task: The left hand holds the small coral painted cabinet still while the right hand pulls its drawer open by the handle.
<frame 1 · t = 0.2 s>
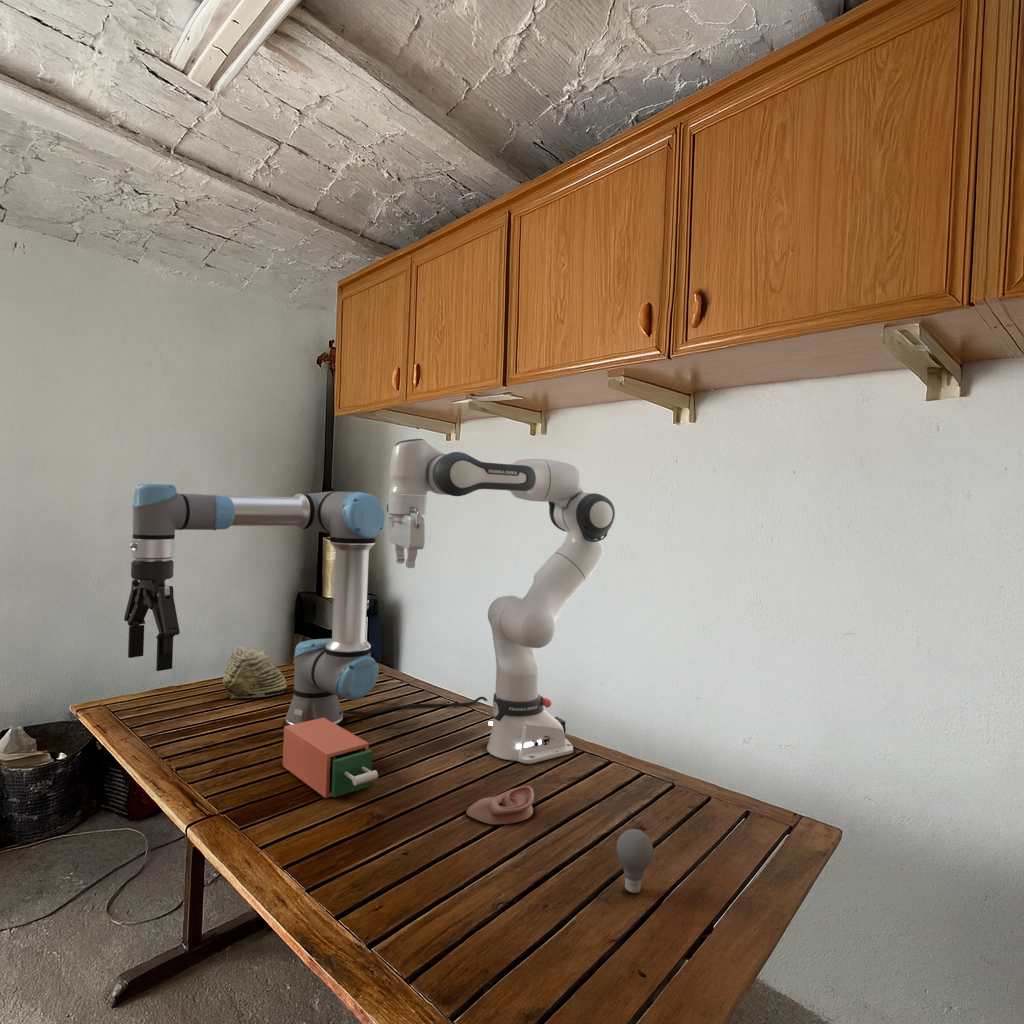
left hand: (149, 663, 129), 28 cm above the table, tool pointing down, fingers open, 13 cm apart
right hand: (405, 565, 150), 48 cm above the table, tool pointing down, fingers open, 8 cm apart
fossil: (254, 694, 198), on the table
light bulb: (632, 891, 106), on the table
drawer: (337, 763, 140), point 5 cm above the table, slide at 1.3 cm
cabinet: (323, 775, 144), on the table
anatomical model: (500, 812, 130), on the table
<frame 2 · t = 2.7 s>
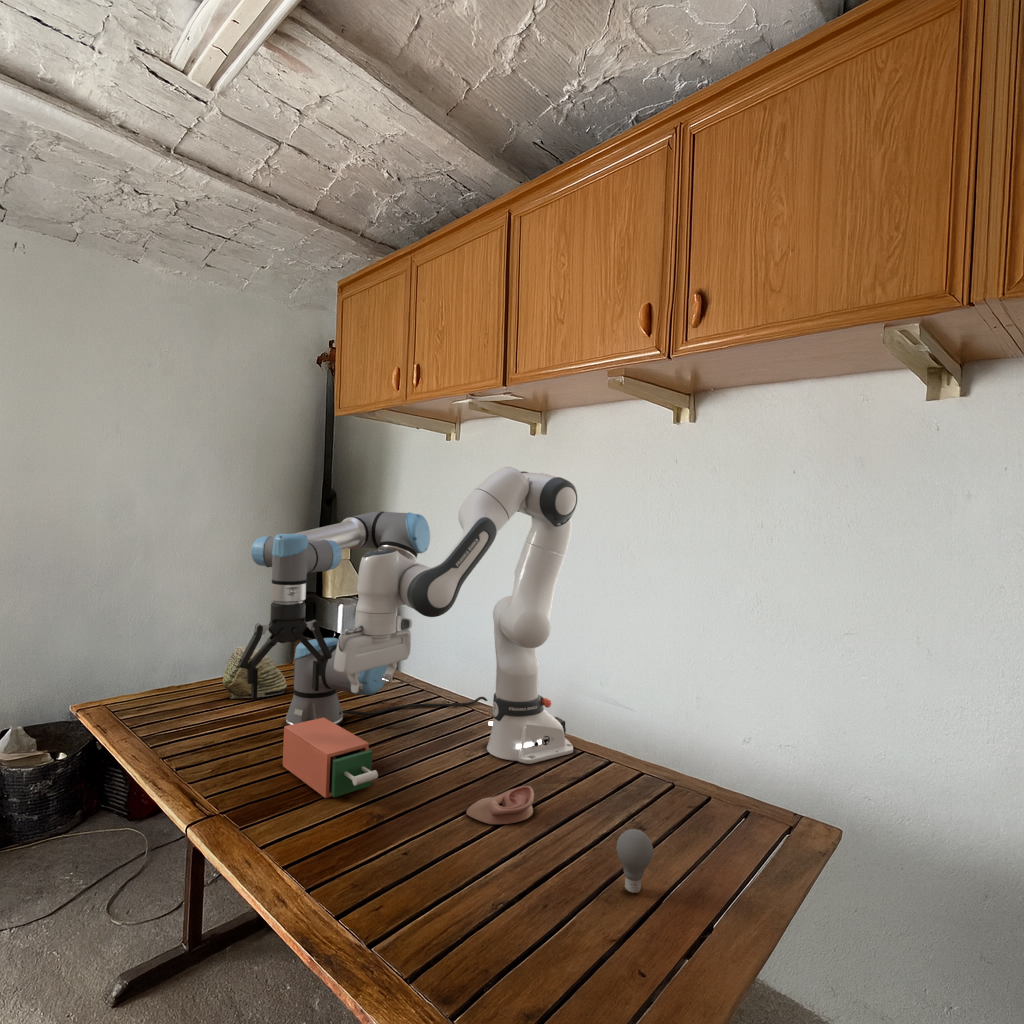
left hand: (285, 693, 145), 18 cm above the table, tool pointing down, fingers open, 13 cm apart
right hand: (372, 687, 137), 23 cm above the table, tool pointing down, fingers open, 8 cm apart
nothing on the table moved.
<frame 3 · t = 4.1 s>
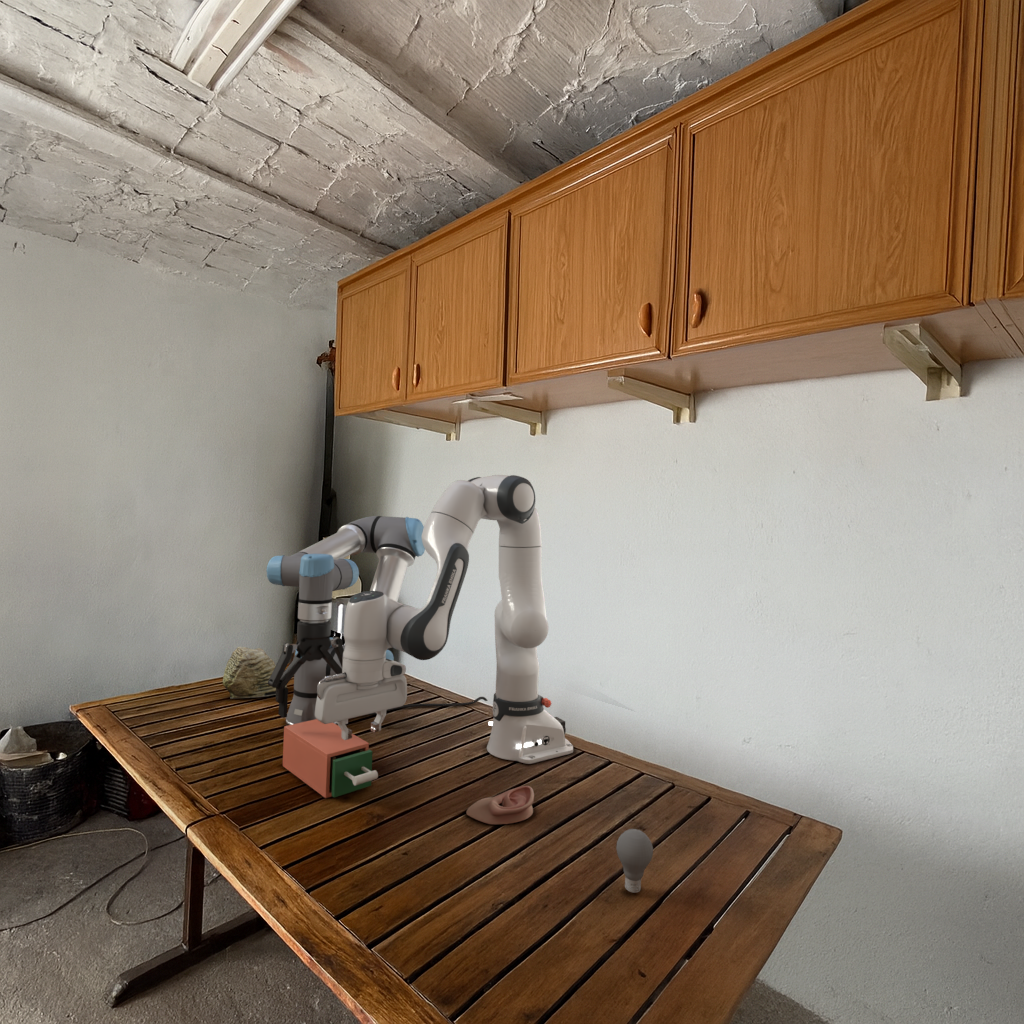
left hand: (310, 710, 149), 13 cm above the table, tool pointing down, fingers open, 13 cm apart
right hand: (361, 734, 133), 14 cm above the table, tool pointing down, fingers open, 5 cm apart
nothing on the table moved.
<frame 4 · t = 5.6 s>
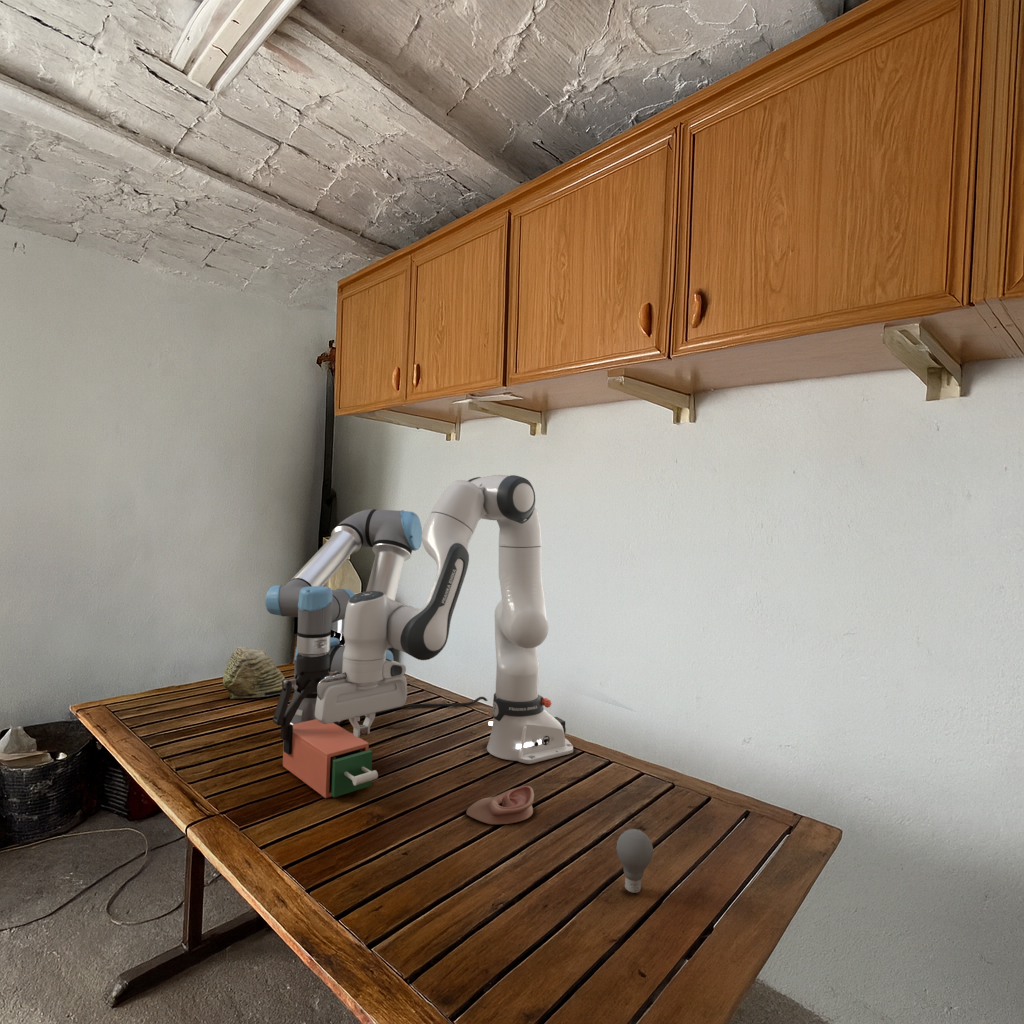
left hand: (309, 746, 149), 4 cm above the table, tool pointing down, fingers closed on cabinet, 10 cm apart
right hand: (361, 734, 133), 14 cm above the table, tool pointing down, fingers closed
cabinet: (323, 775, 144), on the table, touching left hand
everything else where it was.
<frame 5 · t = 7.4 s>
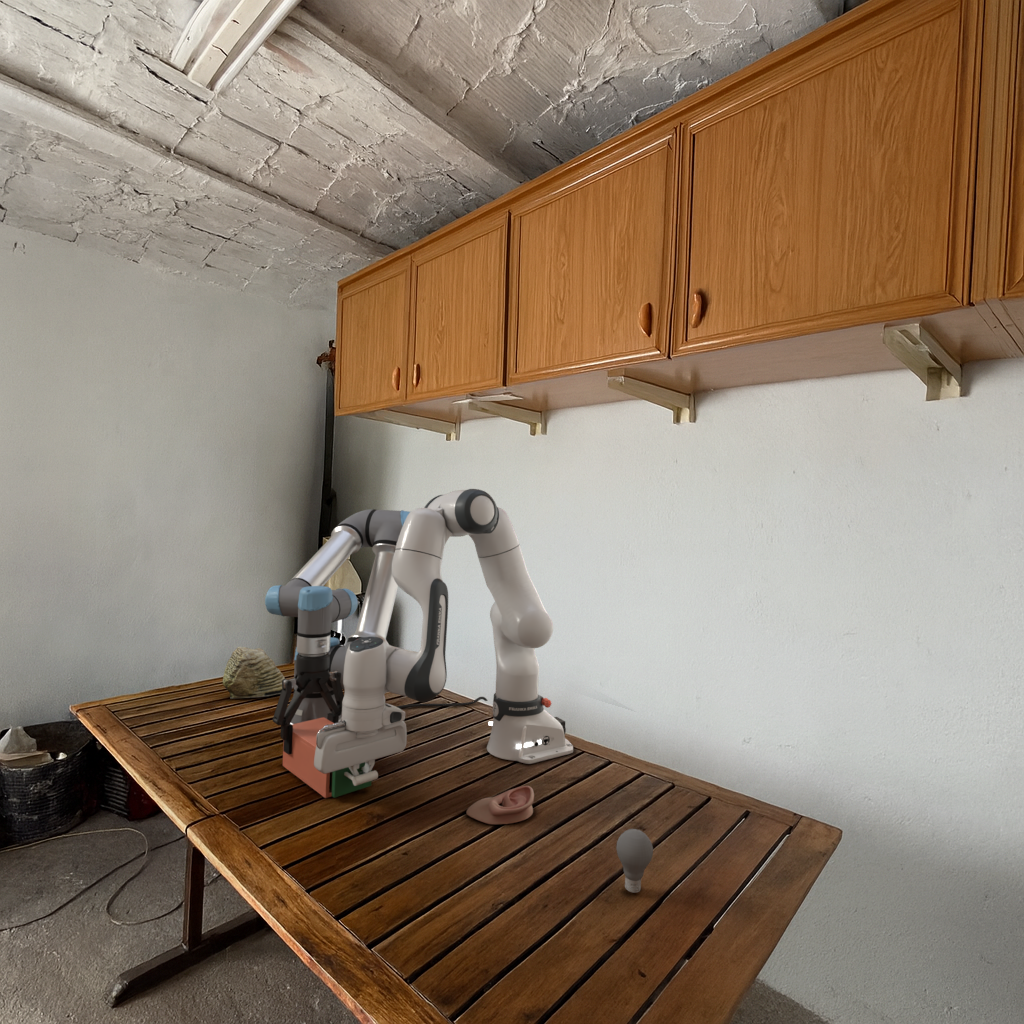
left hand: (309, 746, 149), 4 cm above the table, tool pointing down, fingers closed on cabinet, 10 cm apart
right hand: (360, 781, 133), 4 cm above the table, tool pointing down, fingers closed, pressing on drawer
drawer: (337, 763, 140), point 5 cm above the table, slide at 1.4 cm, touching right hand
cabinet: (323, 775, 144), on the table, touching left hand
everything else where it was.
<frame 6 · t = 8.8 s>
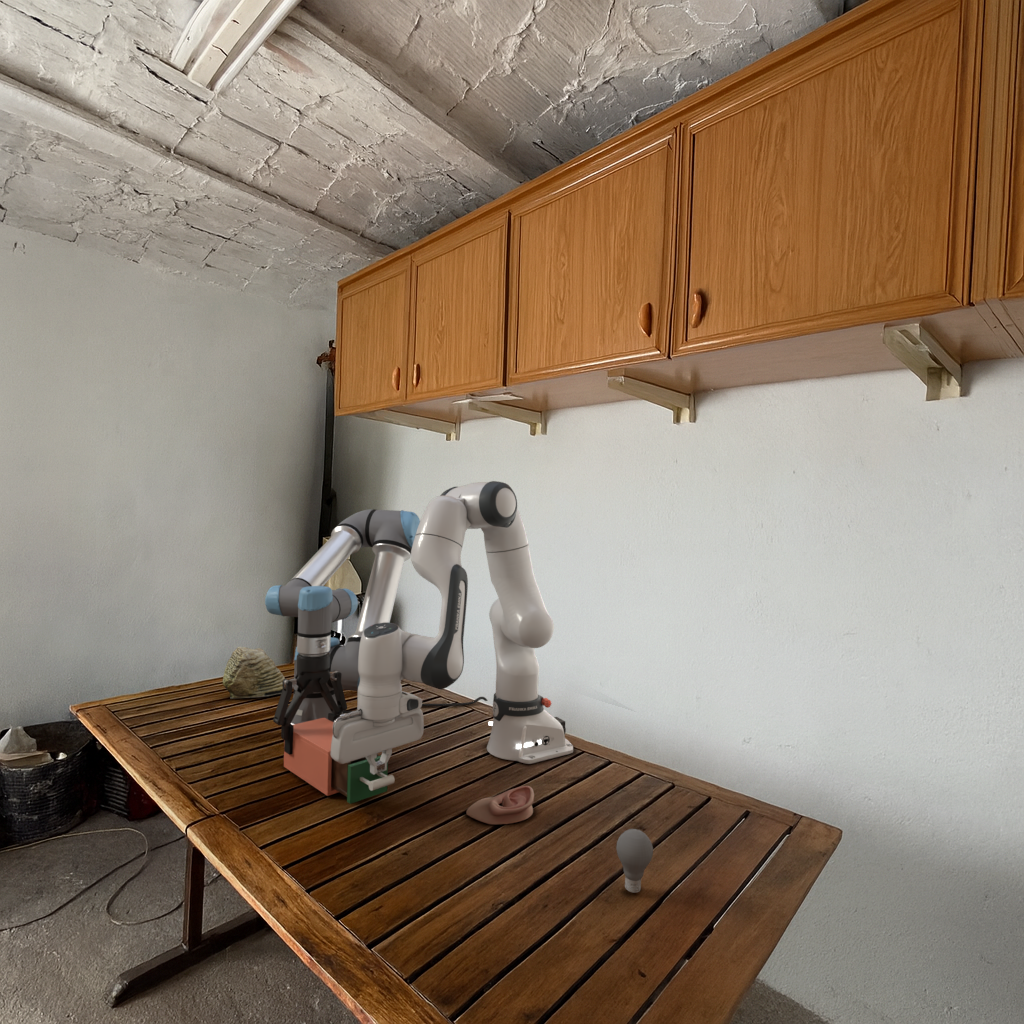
left hand: (310, 746, 149), 4 cm above the table, tool pointing down, fingers closed on cabinet, 10 cm apart
right hand: (378, 771, 129), 8 cm above the table, tool pointing down, fingers closed
drawer: (351, 768, 136), point 5 cm above the table, slide at 6.8 cm
cabinet: (325, 774, 144), on the table, touching left hand
everything else where it was.
when the left hand's fingers open (4 cm above the table, at t = 10.0 s): cabinet stays where it is, on the table.
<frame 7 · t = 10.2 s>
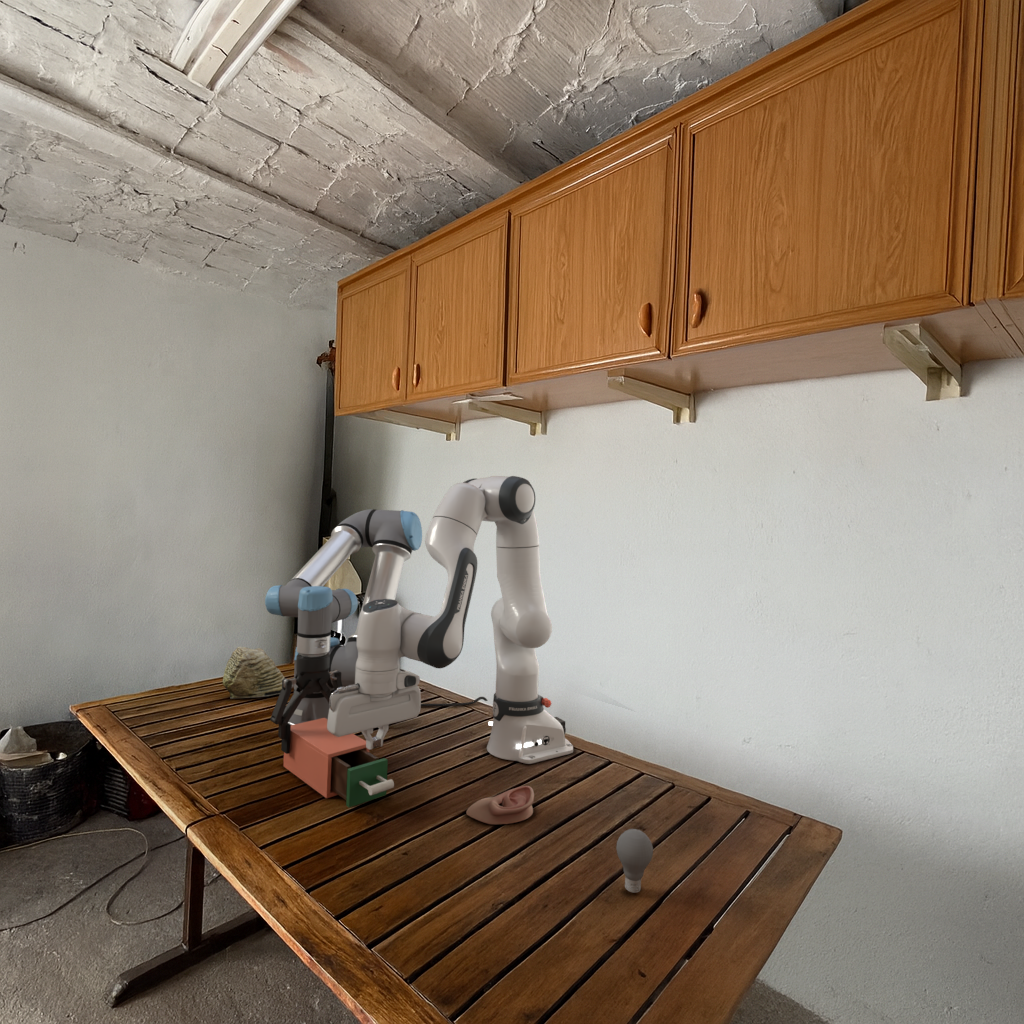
left hand: (309, 745, 149), 5 cm above the table, tool pointing down, fingers open, 11 cm apart
right hand: (374, 747, 129), 13 cm above the table, tool pointing down, fingers closed
cabinet: (324, 775, 144), on the table
everything else where it was.
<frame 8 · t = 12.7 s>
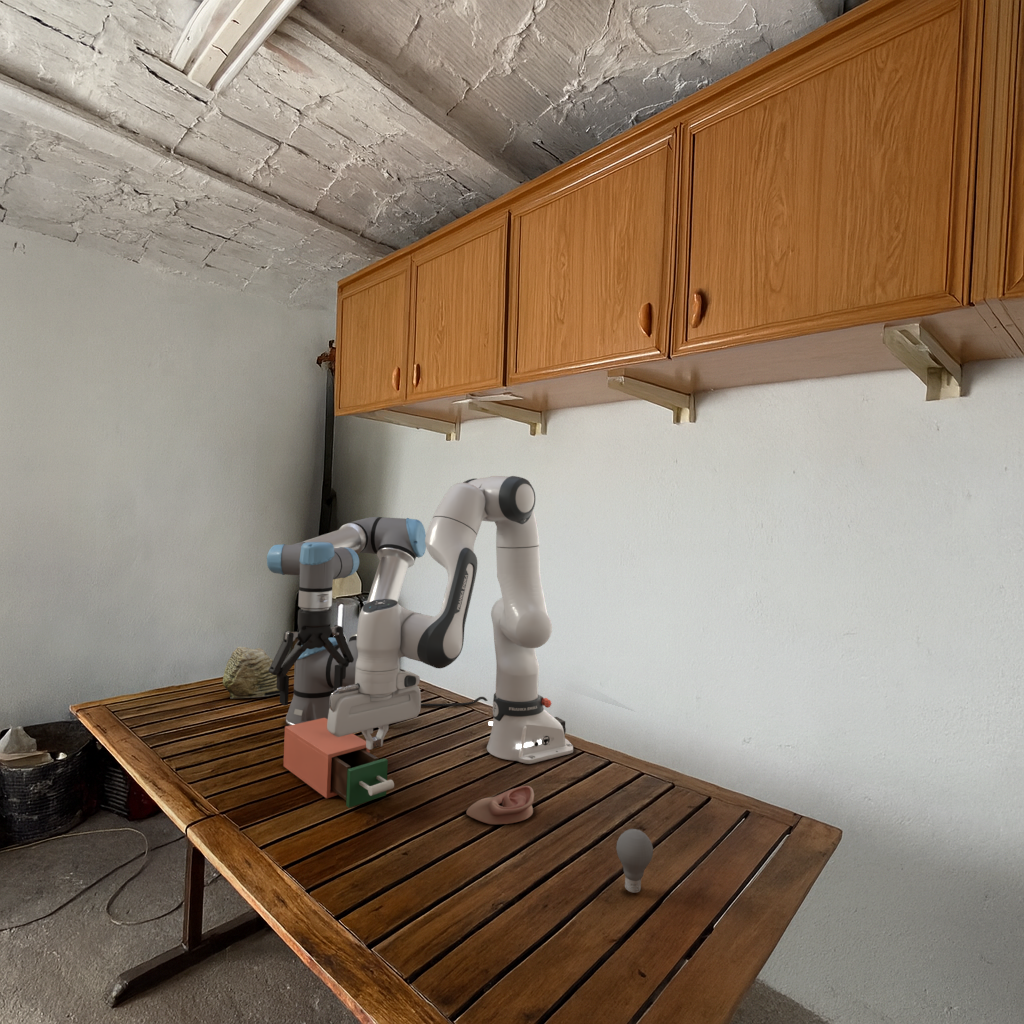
left hand: (311, 698, 149), 16 cm above the table, tool pointing down, fingers open, 13 cm apart
right hand: (374, 747, 129), 13 cm above the table, tool pointing down, fingers closed
nothing on the table moved.
at the end: drawer slide at 6.8 cm; cabinet tilted 0°; cabinet never tilted more than 2° during the clip; cabinet moved 0.3 cm from its start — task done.
